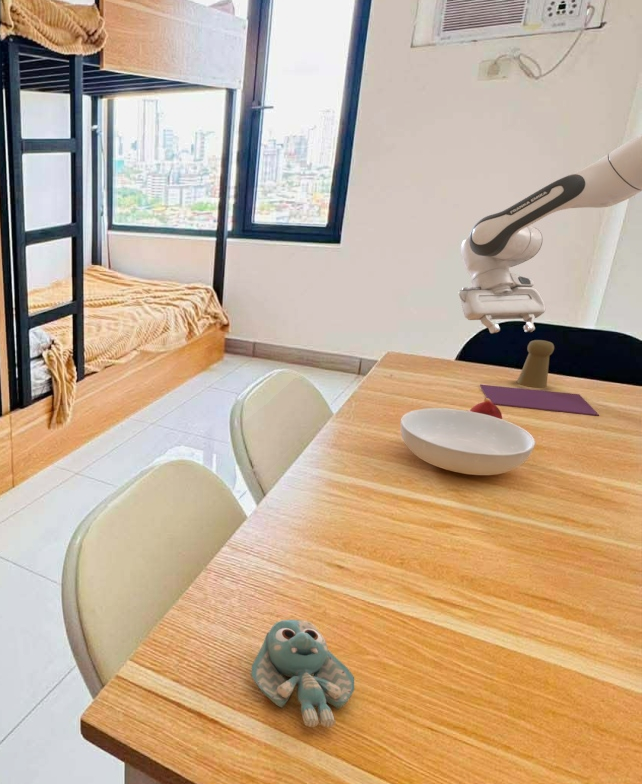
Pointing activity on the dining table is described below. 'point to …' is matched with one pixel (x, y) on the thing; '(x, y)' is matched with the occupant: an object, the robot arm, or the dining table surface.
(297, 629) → the stuffed animal
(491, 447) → the serving bowl
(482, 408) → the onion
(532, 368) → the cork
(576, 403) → the plum cloth
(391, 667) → the dining table surface
